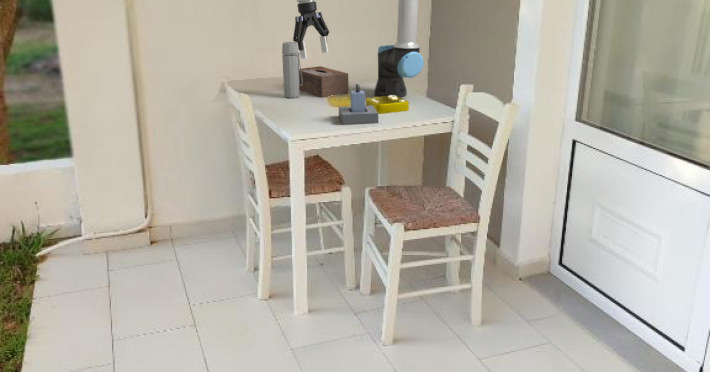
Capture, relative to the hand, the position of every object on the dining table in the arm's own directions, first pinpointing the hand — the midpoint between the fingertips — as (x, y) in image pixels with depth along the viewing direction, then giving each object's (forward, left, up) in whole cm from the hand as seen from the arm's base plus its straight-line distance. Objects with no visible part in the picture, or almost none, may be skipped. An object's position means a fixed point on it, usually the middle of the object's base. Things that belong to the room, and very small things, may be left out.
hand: (314, 55), depth 270 cm
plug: (-15, +16, -23) cm, 32 cm away
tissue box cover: (-6, -44, -24) cm, 51 cm away
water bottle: (+8, -34, -24) cm, 42 cm away
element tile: (-30, -1, -25) cm, 39 cm away
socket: (-15, +16, -24) cm, 33 cm away
